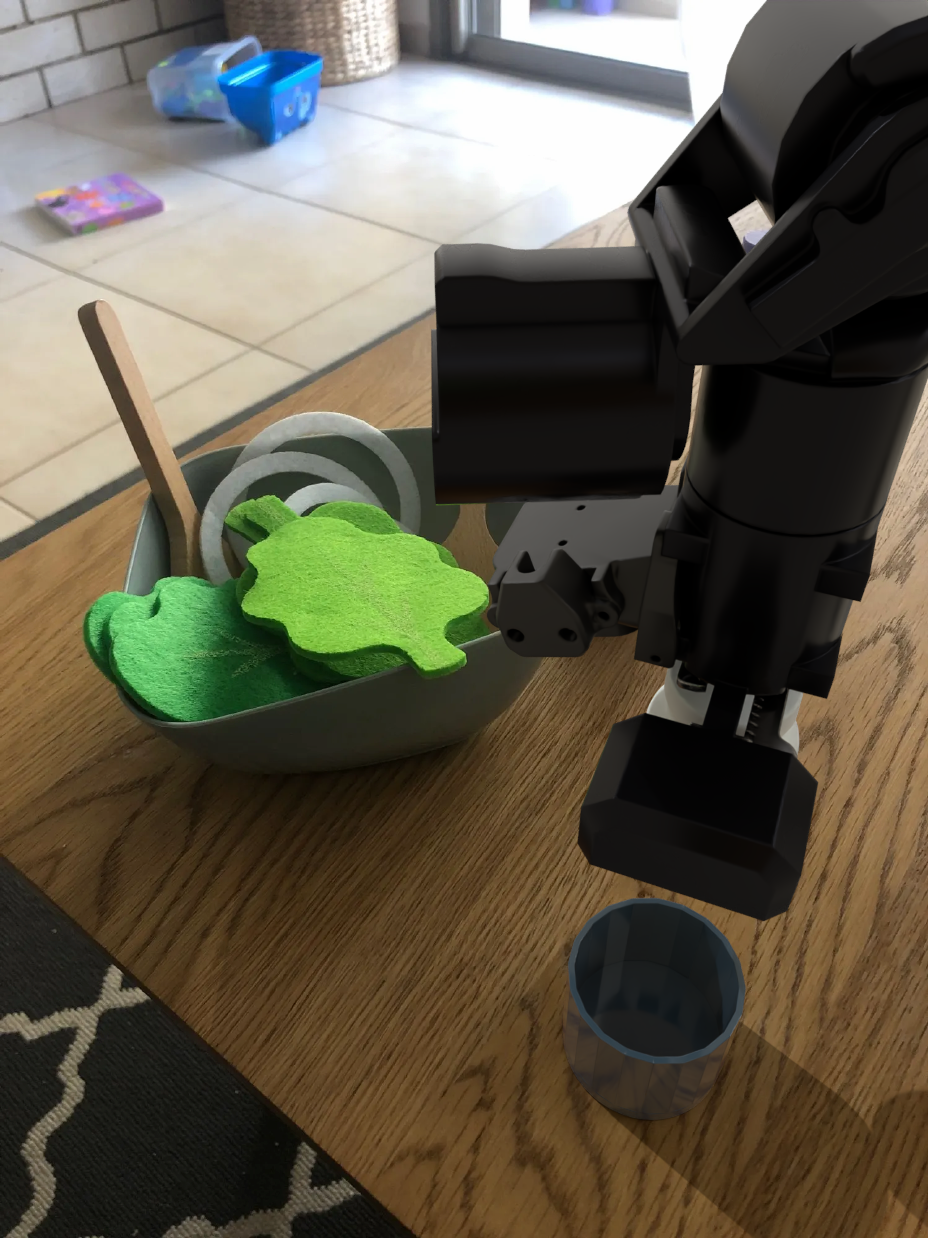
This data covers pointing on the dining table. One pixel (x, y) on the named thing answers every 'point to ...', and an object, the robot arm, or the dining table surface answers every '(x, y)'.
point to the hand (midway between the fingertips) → (706, 796)
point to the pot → (650, 1007)
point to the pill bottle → (694, 704)
